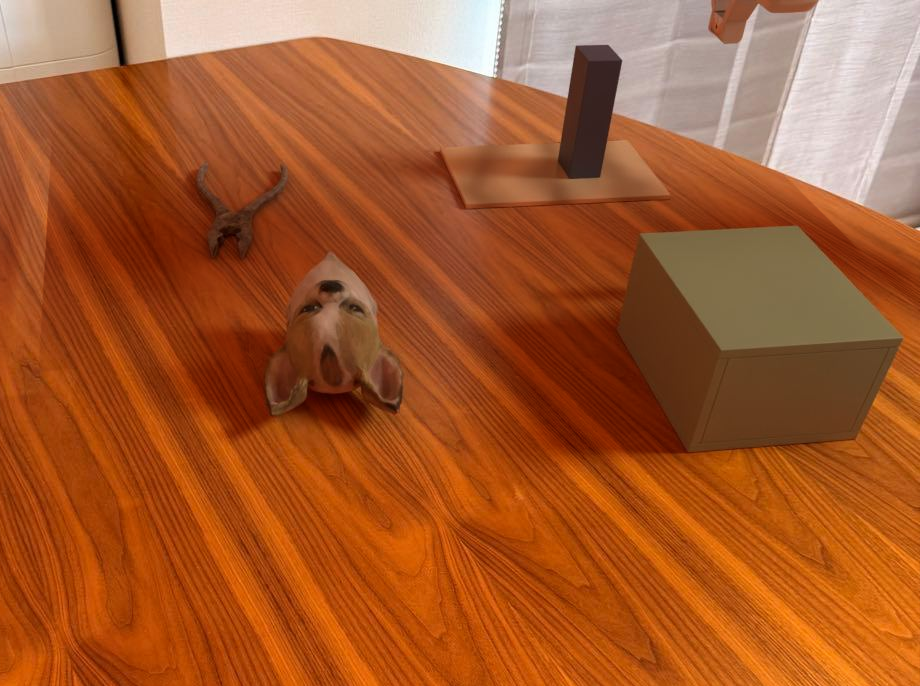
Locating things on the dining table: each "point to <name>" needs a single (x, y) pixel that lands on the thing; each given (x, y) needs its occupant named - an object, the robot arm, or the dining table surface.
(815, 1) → the robot arm
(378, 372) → the ceramic sculpture
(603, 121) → the block
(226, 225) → the pliers
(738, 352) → the cabinet
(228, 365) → the dining table surface
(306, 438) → the dining table surface
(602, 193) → the mat
